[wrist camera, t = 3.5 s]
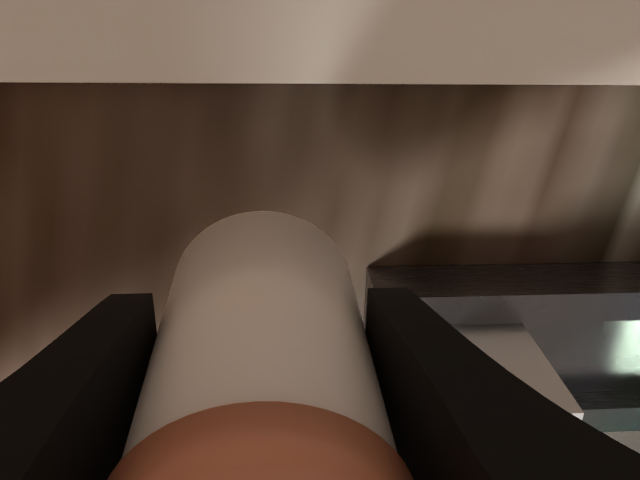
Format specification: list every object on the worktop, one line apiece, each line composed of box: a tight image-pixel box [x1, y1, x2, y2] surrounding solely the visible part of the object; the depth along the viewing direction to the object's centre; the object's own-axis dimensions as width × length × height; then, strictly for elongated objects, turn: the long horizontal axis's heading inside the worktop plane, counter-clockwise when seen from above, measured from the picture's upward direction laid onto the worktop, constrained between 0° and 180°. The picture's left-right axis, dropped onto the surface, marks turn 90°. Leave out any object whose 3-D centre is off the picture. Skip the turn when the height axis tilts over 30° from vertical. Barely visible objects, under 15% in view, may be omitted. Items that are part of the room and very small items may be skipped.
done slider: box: [452, 323, 584, 420], centre depth 14 cm, size 2×2×3 cm
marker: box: [107, 211, 413, 480], centre depth 8 cm, size 3×3×6 cm
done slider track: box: [364, 262, 640, 432], centre depth 16 cm, size 9×4×3 cm, turn 89°
